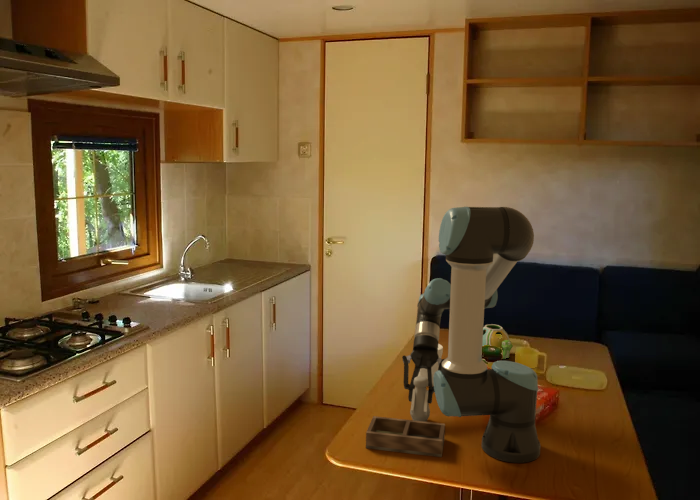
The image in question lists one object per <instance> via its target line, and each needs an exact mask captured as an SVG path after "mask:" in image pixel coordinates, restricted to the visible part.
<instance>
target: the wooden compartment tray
mask: <svg viewBox="0 0 700 500" xmlns="http://www.w3.org/2000/svg"><path fill="white" fill-rule="evenodd" d="M445 433H446V423H440V422H432V421H426V422H423V421H414V420H413V419H412V420H411V419H403V418H394V417H386V416H377V415H376V416H375V415H373V416H372V417H371V420H370V423H369V425H368V427H367V430H366V432H365V448H366V449H370V450H376V451H377V450H378V451H386V452H387V451H388V452H395V453H402V454H403V453H404V454H412V455H420V456H427V457H428V456H430V457H435V458H436V457H437V458H442V456H443V451H444V443H445V438H446V437H445V435H446V434H445Z"/></svg>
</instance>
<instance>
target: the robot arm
mask: <svg viewBox="0 0 700 500" xmlns="http://www.w3.org/2000/svg"><path fill="white" fill-rule="evenodd" d="M534 241H535V234H534V229H533V226H532V223H531V222H530V220H529V219H528V217H526V216H525V214H523V213H522V212H520V211H519V210H517V209H515V208H513V207H509V206H495V207H494V206H461V207H451V208H449V209H448V210H447V211H446V212H445V214H444V215H443V217H442V220H441V221H440V226H439V231H438V248H439V252H440V253H441V254H443V255H444V256H445V261H446V262H447V264H448V265H450V267H451V271H450V272H451V273H450V282H449V281H448V280H446V279H443V278H441V277H439V278H438V277H437V278H434V279H433V278H432V279H431V281H429V283H428V284H427V286H426V287H425V288H424V292H423V293H421V294H420V295H419V298H418V301H417V311H416V320H415V321H416V322H415V329H414V337H413V338H414V339H413V346H412V350H411V351H412V352H410V354H409V355H404V354H403V355H402V362H403V388H404V389H405V390H408V398H407V399H408V401H409V402H411V405H410V410H411V414H414V407H415V385H414V378H415V377H417V376H418V374H419V372H420V368H425V369H427V374H428V386H427V387H428V389H426V393H425V403H424V415H427V407H428V403H429V405H430V404H432V403H433V394H434V395H435V399H436V403H437V406H438V408H439V410H440V411H441V413H442V414H443V415H444V416H446V417H458V418H461V417H474V416H475V417H478V416H489V419H488V422H487V424H486V427H485V429H484V432H483V434H482V437H481V448H482V450H483V452H484V453H485V454H486V455H488V456H490V457H492V458H494V459H497V460H499V461H502V462H507V463H512V464H513V463H514V464H522V463H531V462H533V461H535V460H537V459H538V458H539V457H540V455H541V442H540V440H539V438H538V437H539V436H538V433H537V431H538V430H537V428H536V413H537V412H536V411H537V400H538V391H539V387H538V374H537V373H536V371H535V370H534V369H533V368H531V367H530V366H527V365H525V364H522V363H519V362H516V361H511V360H497V361H494V362H493V363H492V365H491V368H490V369H489V368H488V365H487V363H486V362H485V360H483V359H482V357H483V355H482V343H483V327H484V321H485V319H484V318H485V309H490V308H491V309H493V308H494V307H495V306H497V302H498V298H499V297H498V295H499V294H498V288H499V287H500V285H501V284H502V283H503V282H504V280H505V279H506V278H507V276H508V274H509V273H510V272H511V270H512V269H513V268H514V267H515V266H516V264H517V262H520V261H523V260H524V259H525V258H526V257H527V256H528V254H529V253H530V252H531V250H532V248H533V245H534ZM445 310H449V316H448V317H449V322H448V344H447V345H448V347H447V357H446V358H442V357H441V358H439V356H438V344H439V340H440V331H441V329H440V327H441V319H442V318H441V317H442V314H443V312H444V311H445ZM411 360H412V363H414V369H413V373H412V375H411V376H412V377H411V379H410V383H409V372H410V368H409V364H410V363H411ZM436 362H438V366H439V367H438V371H436V372H435V373H434V378H433V381H434V386H432V371H431V367H432V366H433V365H434V364H435V363H436ZM411 414H410V415H411Z"/></svg>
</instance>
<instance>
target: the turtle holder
mask: <svg viewBox="0 0 700 500" xmlns="http://www.w3.org/2000/svg"><path fill="white" fill-rule="evenodd" d="M496 334H501V335H502V338H501V339H499V338H497V337H496ZM510 340H511V339H510V337H509V334H508V332H507V331H505V329H504V328H503V327H502V326H501V325H499V324H493V323H491V324H485V325H484V326H483V343H482V346H484V345H490V346H496V347H500V348H502V350H503V359H502V360H507V359H506V358H509V357H510V353H511V350H512V348H513V347H514V346H513V343H512V341H510ZM509 359H510V358H509Z"/></svg>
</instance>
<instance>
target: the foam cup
mask: <svg viewBox="0 0 700 500" xmlns="http://www.w3.org/2000/svg"><path fill="white" fill-rule="evenodd" d="M443 352H444V347H443V345H442V344H440V343H438V356H439V358H441V359H442V357H443V356H442V355H443ZM438 367H439V366H438V362H436V363H435V364H434V365H433V366H432V367H431V371H432V386H433V387H434V381H433V378H434V373H435V372H436V371H438ZM418 376H424V377H426V378H427V379H428V374H427V369H425V368H420V372H419V374H418Z"/></svg>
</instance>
